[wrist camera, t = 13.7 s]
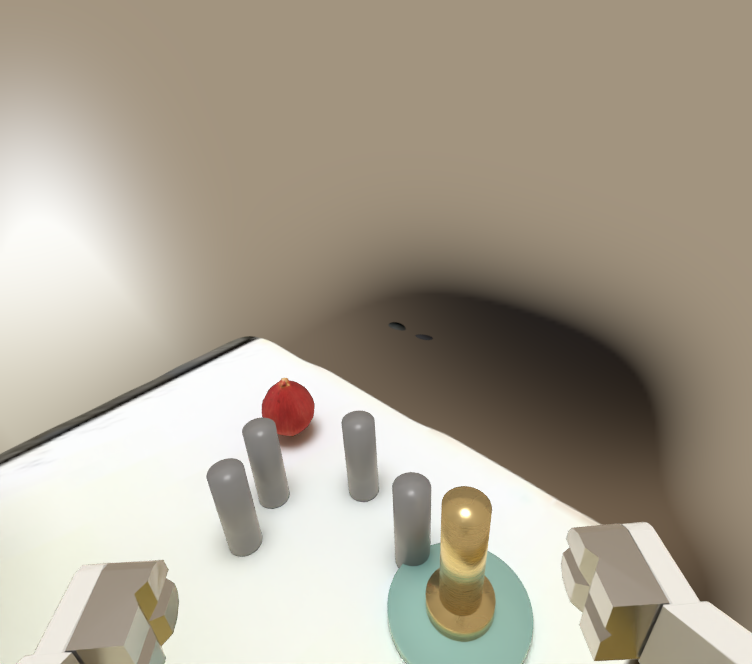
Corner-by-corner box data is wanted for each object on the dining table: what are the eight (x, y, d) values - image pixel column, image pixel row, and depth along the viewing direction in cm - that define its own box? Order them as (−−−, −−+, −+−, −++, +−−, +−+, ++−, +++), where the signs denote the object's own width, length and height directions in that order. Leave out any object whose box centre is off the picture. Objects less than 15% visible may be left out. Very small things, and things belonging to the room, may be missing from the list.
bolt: (431, 644, 36) (432, 544, 30) (421, 577, 40) (421, 478, 34) (502, 638, 36) (518, 537, 30) (484, 571, 40) (495, 472, 34)
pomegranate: (257, 437, 57) (244, 381, 53) (293, 410, 61) (284, 356, 56) (291, 459, 54) (280, 402, 49) (328, 429, 57) (320, 374, 53)
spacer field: (218, 590, 41) (192, 519, 36) (242, 486, 51) (223, 420, 46) (432, 573, 42) (433, 501, 37) (416, 474, 51) (416, 406, 46)
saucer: (394, 700, 34) (393, 692, 33) (383, 555, 43) (383, 547, 43) (553, 687, 34) (555, 679, 33) (508, 546, 43) (509, 537, 43)
